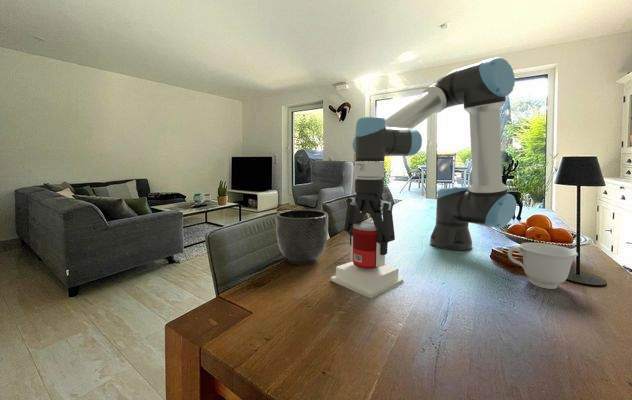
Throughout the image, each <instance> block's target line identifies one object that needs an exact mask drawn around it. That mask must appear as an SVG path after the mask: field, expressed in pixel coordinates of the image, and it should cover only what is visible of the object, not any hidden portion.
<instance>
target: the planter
mask: <svg viewBox="0 0 632 400" xmlns="http://www.w3.org/2000/svg"><path fill="white" fill-rule="evenodd" d="M275 231H276V232H275V233H276V240H277V245H278V248H279V250H280V252H281V254H282V256H284V257H285V259H287V261H288V262H289V263H290V262H291V263H290V264H292V263H293V264H292V265H295V264H297V266H306V265H307V266H308V265H311V264H313V263H316V261H317V259H318V258H319V257H320V256H321V255H322V254H323V252H324V251H325V249H326V247H327V246H326V245H327V241H328V233H329V213H328V212H326V211H324V210H317V209H289V210H284V211H283V210H282V211H279V212H277V213H276V214H275Z"/></svg>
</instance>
